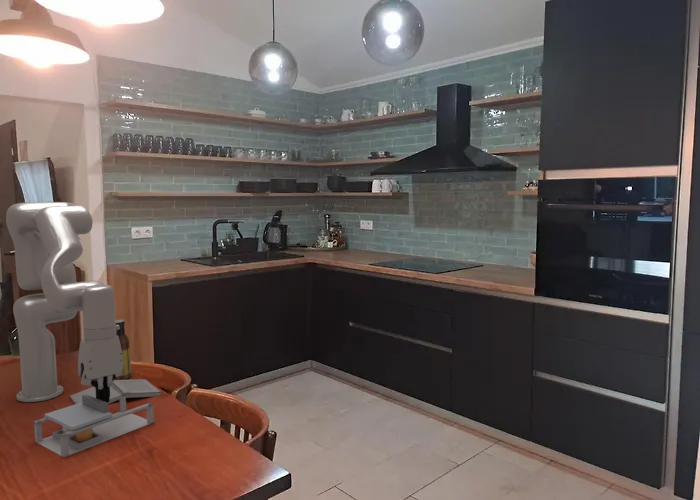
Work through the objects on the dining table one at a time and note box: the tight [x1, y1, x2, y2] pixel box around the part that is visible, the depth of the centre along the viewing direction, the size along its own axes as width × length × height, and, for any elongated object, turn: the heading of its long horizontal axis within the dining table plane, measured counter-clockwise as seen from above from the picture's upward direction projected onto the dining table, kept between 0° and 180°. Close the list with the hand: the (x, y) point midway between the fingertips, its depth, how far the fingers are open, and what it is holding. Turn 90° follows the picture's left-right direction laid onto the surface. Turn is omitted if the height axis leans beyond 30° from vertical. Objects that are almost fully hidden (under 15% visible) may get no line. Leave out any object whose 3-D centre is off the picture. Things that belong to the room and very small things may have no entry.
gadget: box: [69, 378, 162, 405], centre depth 167 cm, size 23×15×4 cm, turn 129°
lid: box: [44, 394, 113, 431], centre depth 136 cm, size 13×10×3 cm
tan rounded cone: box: [76, 428, 93, 443], centre depth 134 cm, size 4×4×5 cm
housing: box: [33, 393, 155, 458], centre depth 140 cm, size 14×24×6 cm, turn 145°
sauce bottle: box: [114, 319, 132, 380], centre depth 183 cm, size 6×6×20 cm
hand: (103, 401), depth 141 cm, fingers closed
